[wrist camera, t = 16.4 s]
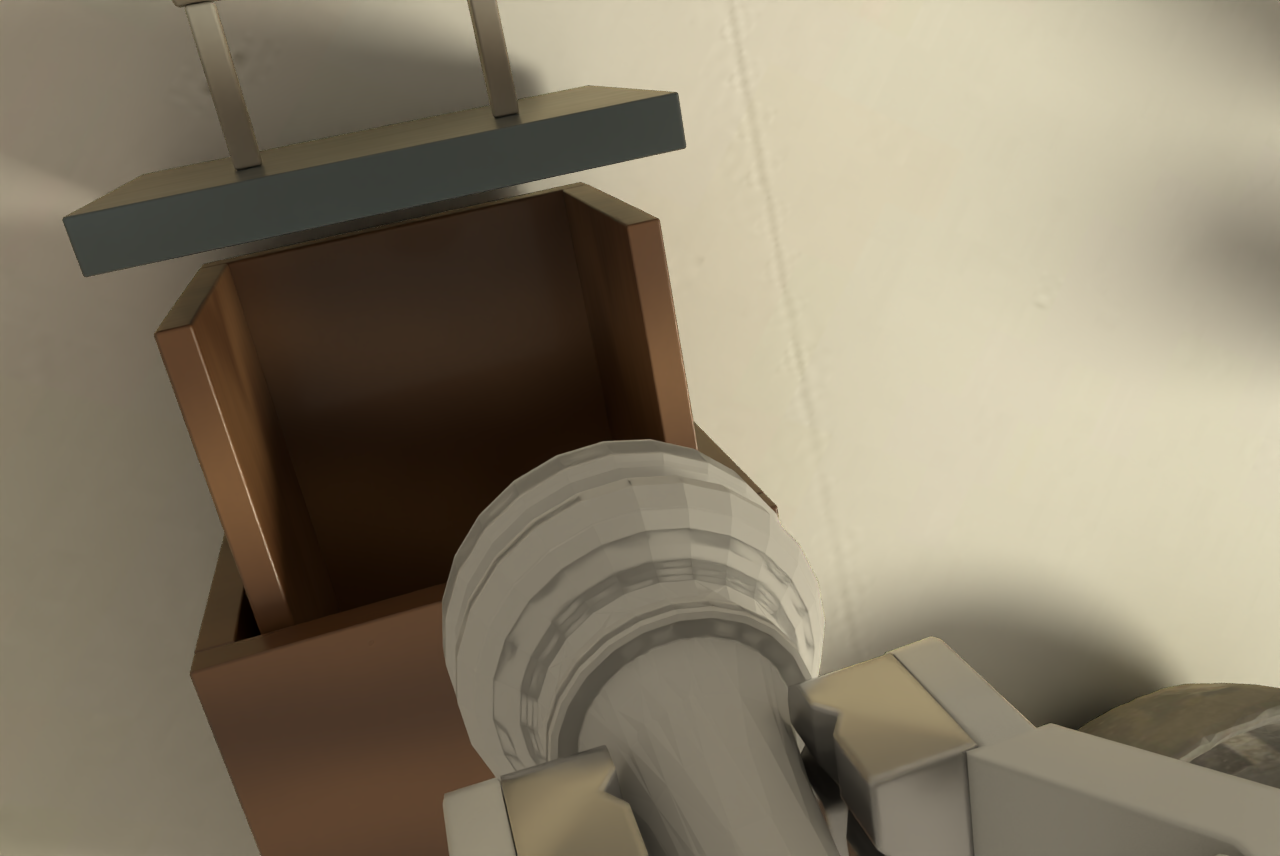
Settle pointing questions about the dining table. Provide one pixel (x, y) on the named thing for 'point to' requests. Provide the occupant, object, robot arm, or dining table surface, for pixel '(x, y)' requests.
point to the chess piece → (644, 643)
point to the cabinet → (342, 718)
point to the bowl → (1203, 727)
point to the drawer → (401, 322)
